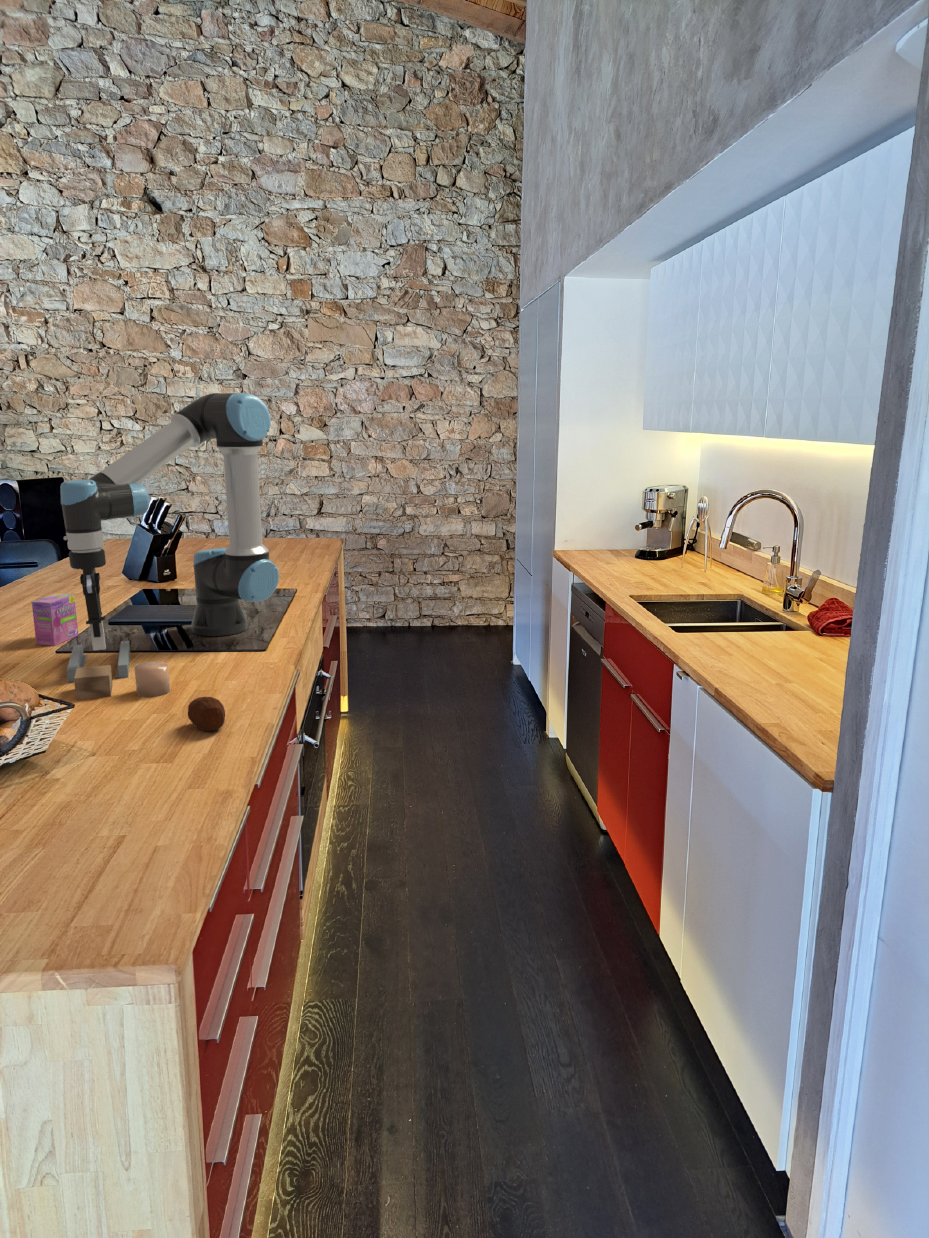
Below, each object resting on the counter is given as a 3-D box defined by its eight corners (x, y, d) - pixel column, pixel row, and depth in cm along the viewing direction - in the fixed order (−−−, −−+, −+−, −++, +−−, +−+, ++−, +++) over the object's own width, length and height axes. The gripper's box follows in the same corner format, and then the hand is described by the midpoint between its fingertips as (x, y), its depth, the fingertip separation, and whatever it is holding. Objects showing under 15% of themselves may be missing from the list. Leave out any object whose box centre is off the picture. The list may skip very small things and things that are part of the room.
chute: (130, 652, 224) (129, 640, 223) (128, 677, 204) (127, 664, 203) (75, 656, 220) (73, 645, 219) (67, 682, 200) (66, 670, 199)
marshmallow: (169, 685, 198) (167, 660, 196) (170, 695, 192) (168, 669, 190) (136, 688, 196) (134, 663, 194) (136, 698, 189) (134, 672, 188)
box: (55, 646, 229) (50, 602, 226) (35, 644, 230) (30, 601, 227) (79, 636, 239) (75, 594, 236) (61, 634, 240) (56, 593, 237)
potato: (194, 738, 168) (191, 706, 166) (184, 722, 176) (182, 692, 174) (230, 732, 171) (228, 701, 169) (220, 717, 179) (218, 687, 177)
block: (112, 686, 198) (110, 665, 197) (111, 697, 191) (108, 675, 189) (79, 689, 196) (76, 667, 195) (76, 700, 188) (73, 678, 187)
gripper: (70, 545, 201) (83, 643, 208) (65, 556, 189) (80, 659, 196) (105, 543, 204) (117, 639, 210) (102, 553, 192) (115, 655, 198)
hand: (99, 648), depth 203 cm, fingers closed
